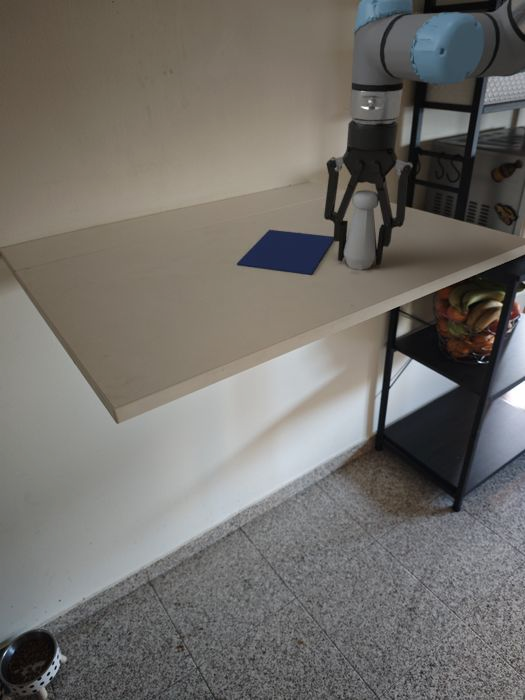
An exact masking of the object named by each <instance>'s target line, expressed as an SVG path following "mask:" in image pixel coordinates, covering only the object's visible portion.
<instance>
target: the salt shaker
mask: <svg viewBox="0 0 525 700" xmlns="http://www.w3.org/2000/svg"><path fill="white" fill-rule="evenodd" d="M351 203H352V207H355V208H354V211H353V215H352V219H351V222H350V226H349V229H348V232H347V237H346V244H345V247H344V251H343V252H344V259H345V261H346V264H347V266H348V267H349V268H350V269H352V270H360V271H364V270H368V269H370V268H371V267H372V264H373V263H374V261H375V260H376V254H377V245H378V244H377V236H376V235H377V233H376V223H375V210H374V209H376V208H377V207H378V205H379V198H378V193H377V191H373V190H369V189H368V190H367V189H365V190H363V189H362V190H358V191H356V192H354V194H353V196H352V199H351Z"/></svg>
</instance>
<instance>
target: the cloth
mask: <svg viewBox="0 0 525 700" xmlns="http://www.w3.org/2000/svg"><path fill="white" fill-rule="evenodd" d="M333 242H335V241H334V236H331V235H323V234H314V233H313V234H312V233H305V232H295V231H293V232H292V231H286V230H277V229H269V230H267V231H266V233H264V234H263V236H262V237H260V238H259V240H258V241H257V242H256V243H254V245H252V247H251V248H250V249H249V250H248V251H247V252H246V253H245V254H244V255H243V256H242V257H241V258H240V259H239V260H238V261H237V262H236V266H241V267H248V268H256V269H264V270H271V271H278V272H285V273H294V274H302V275H309V276H312V275H313V274H314V272H315V271H316V269H317V268H318V266H319V264H320V263H321V262H322V260H323V258H324V257H325V255H326V253H327V252H328V251H329V248H330V247H331V245H332V244H333Z"/></svg>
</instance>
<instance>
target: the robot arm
mask: <svg viewBox="0 0 525 700" xmlns="http://www.w3.org/2000/svg"><path fill="white" fill-rule="evenodd" d="M413 4H414V3H413V0H361V1H360V2H359V4H358V7H357V14H356V22H355V29H354V31H353V37H354V40H353V51H352V53H353V55H352V69H351V71H352V72H351V87H350V99H349V109H348V110H349V111H348V116H349V117H350V119H352V120H350V121H349V122H348V125H347V126H348V127H347V140H346V141H347V142H346V150H345V152H344V154H343V156H340V157H339V156H338V157H334V156H332V157H330V158H329V159H328V161H327V162H326V169H327V173H328V174H327V175H328V179H327V181H328V182H327V186H326V187H327V189H326V197H325V205H324V213H323V217H324V219H325V220H326V221H331V222H333V237H334V241H333V242H338V251H337V261H338V262H343V260H344V259H345V256H344V252H343V251H344V247H345V244H346V240H347V236H348V224H349V221H348V220H344V219H345V217H346V214H347V211H348V208H349V206H350V203H351V202H352V198H353V195H354V194H355V191H356V189H357V187H358V184H363V183H369V184H371V185H372V184H373V185H375V186H374V187H375V190H376V193H377V194H378V198H379V202H378V204H379V207H380V214H381V217H382V221H383V222H382V223H383V224H382V223H381V225H380V227H379V229H378V237H377V244H376V245H377V254H376V258H375V262H374V263H375V264H374V265H375V266H377V267H380V266H381V263H382V260H383V253H384V247H386V248H388V247H389V246H390V244H391V241H392V233H393V229H394V228H397V227H398V228H401V227H402V226H403V225H404V222H405V219H406V208H407V196H408V195H407V193H408V181H409V180H408V179H409V175H411V172H412V170H413V167H414V166H413V163H412V161H407V162H405V161H403V160H400V159H398V156H397V154H396V144H397V136H398V128H399V124H398V122H397V121H396V120H397V119H398V118H399V117H400V111H401V105H402V104H401V103H402V97H403V90H404V89H403V88H404V80H406V81H407V80H408V81H413V82H414V81H415V82H420V83H427V84H428V85H432V86H438V85H456V84H459V83H462V81H464V80H468V79H475V78H476V79H477V78H490V77H491V78H492V77H502V78H503V77H504V78H505V77H512V76H514V75H517V74H522V73H525V0H506V1H504V2H503V4H502V5H500V7H498V8H497V9H496V10H494V11H490V12H487V11H486V12H484V11H483V12H459V11H452V12H450V11H444V12H436V13H434V12H433V13H419V14H418V13H417V14H414V13H413V8H414V7H413ZM343 165H344V166H345V168H346V170H347V171H348V173H349V174H350V177H349V180H348V183H347V187H346V188H345V192H344V194H343V196H342V198H341V201H340V205H339V207H338V209H337V211H335V208H336V200H337V193H338V185H339V176H340V171H341V170H342V169H343ZM393 168H395V170H396V176H398V177H399V178H398V182H397V184H398V185H397V197H396V209H395V210H396V211H395V213H396V214H395V217H394V216H393V211H392V207H391V201H390V196H389V191H388V184H387V175H388V174H389V173H390V172H391V171H392V170H393Z"/></svg>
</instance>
